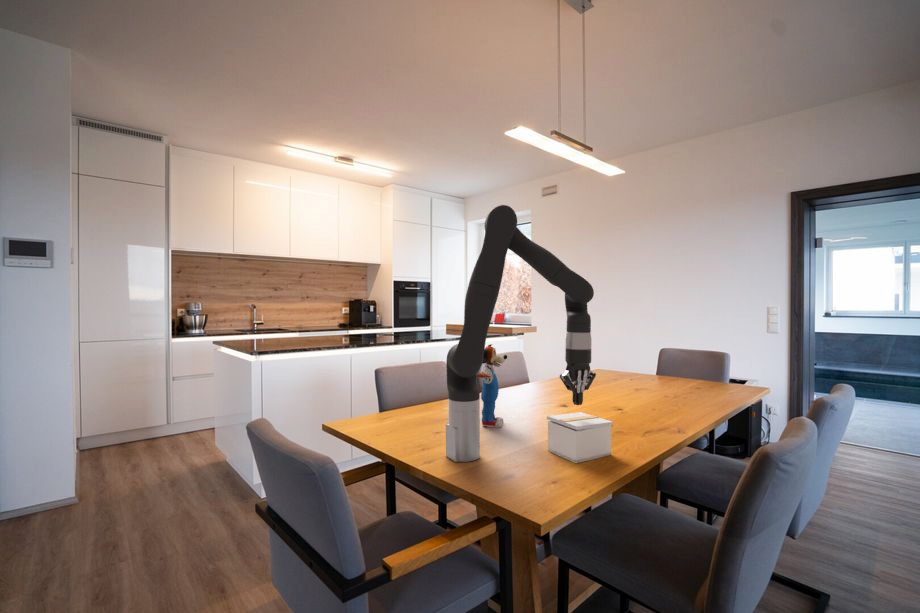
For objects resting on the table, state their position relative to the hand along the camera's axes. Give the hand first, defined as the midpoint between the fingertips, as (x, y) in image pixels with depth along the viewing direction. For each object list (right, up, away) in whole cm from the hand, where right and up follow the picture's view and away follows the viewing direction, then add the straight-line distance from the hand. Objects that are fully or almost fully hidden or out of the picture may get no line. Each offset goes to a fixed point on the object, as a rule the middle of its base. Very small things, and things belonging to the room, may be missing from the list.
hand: (577, 404), depth 130 cm
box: (+1, -15, 0) cm, 15 cm away
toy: (-23, -15, +31) cm, 41 cm away
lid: (0, -5, 0) cm, 5 cm away
